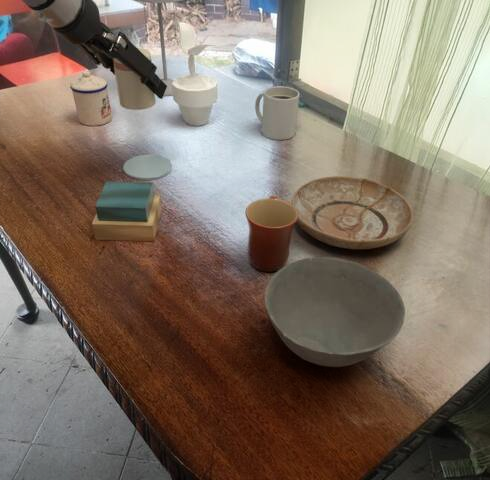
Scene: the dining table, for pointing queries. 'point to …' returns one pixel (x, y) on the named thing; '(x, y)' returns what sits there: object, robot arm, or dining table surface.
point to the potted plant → (193, 81)
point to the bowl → (333, 310)
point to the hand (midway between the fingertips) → (148, 87)
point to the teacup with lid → (91, 99)
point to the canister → (132, 87)
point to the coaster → (147, 167)
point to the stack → (127, 212)
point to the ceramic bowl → (352, 212)
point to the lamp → (162, 41)
